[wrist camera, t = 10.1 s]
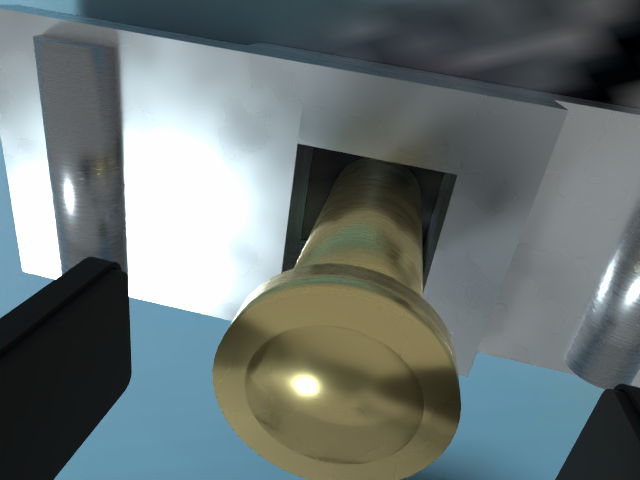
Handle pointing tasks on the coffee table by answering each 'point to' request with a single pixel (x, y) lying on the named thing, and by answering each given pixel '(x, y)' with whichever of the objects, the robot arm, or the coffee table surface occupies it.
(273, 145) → the plate with square hole
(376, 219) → the brass pin
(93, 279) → the robot arm
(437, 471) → the coffee table surface
